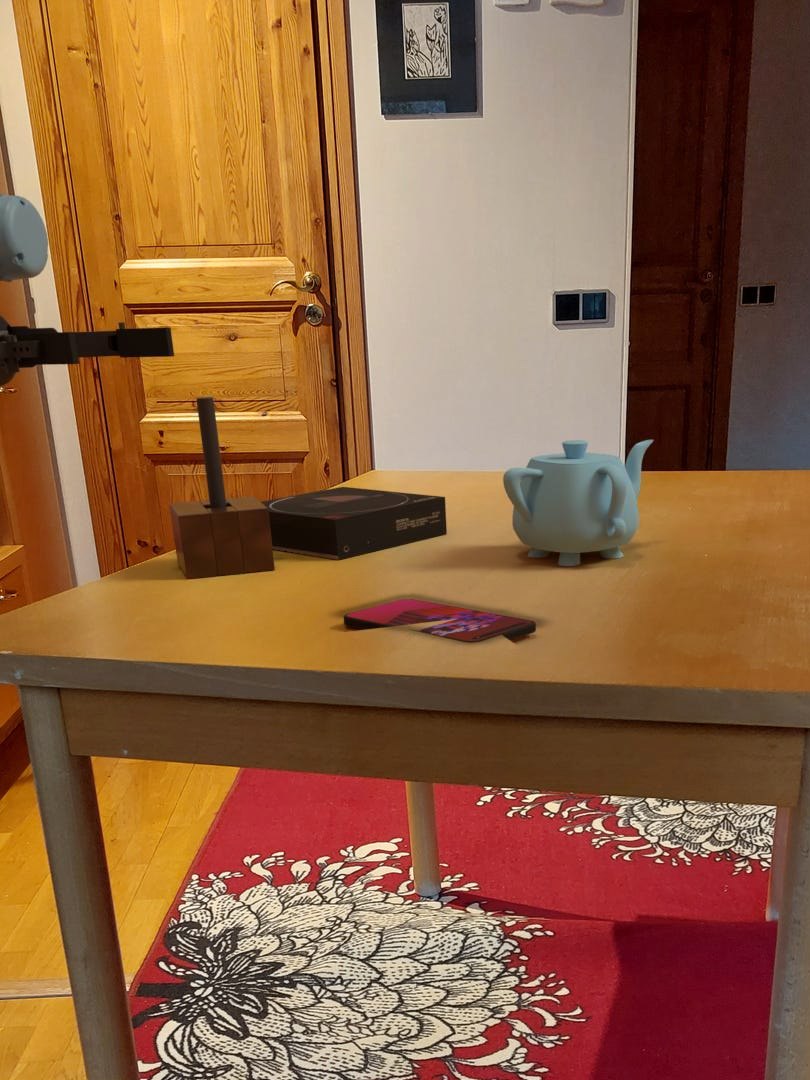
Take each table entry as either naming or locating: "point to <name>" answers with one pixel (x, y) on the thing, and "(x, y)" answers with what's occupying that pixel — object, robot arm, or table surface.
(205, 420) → the stylus
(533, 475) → the teapot
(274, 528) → the portable cd player
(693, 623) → the table surface
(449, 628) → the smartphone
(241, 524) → the pen stand
